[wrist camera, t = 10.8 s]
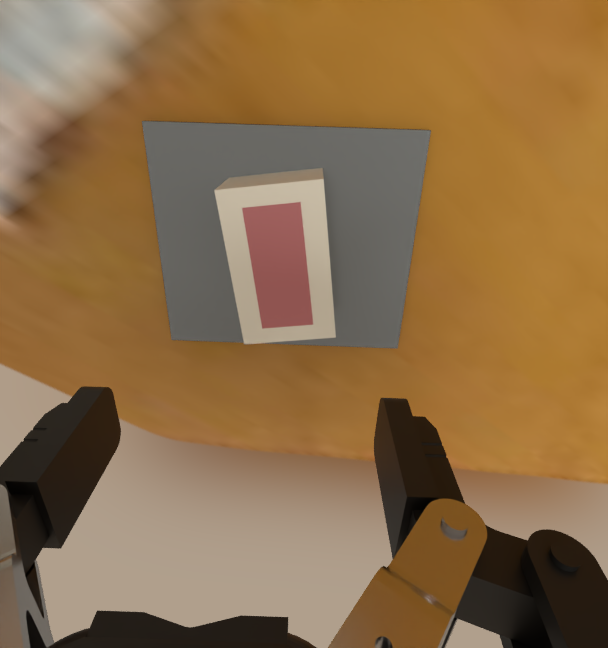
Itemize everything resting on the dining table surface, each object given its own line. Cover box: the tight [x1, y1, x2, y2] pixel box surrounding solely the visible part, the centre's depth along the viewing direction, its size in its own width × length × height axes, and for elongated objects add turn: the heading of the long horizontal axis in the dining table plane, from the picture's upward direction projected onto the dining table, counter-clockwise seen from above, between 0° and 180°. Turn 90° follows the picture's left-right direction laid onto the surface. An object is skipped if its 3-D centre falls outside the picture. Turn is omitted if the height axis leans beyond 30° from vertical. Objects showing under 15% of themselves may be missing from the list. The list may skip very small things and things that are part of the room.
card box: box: [214, 168, 336, 344], centre depth 25 cm, size 9×6×4 cm, turn 6°
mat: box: [142, 121, 431, 348], centre depth 27 cm, size 16×14×1 cm
